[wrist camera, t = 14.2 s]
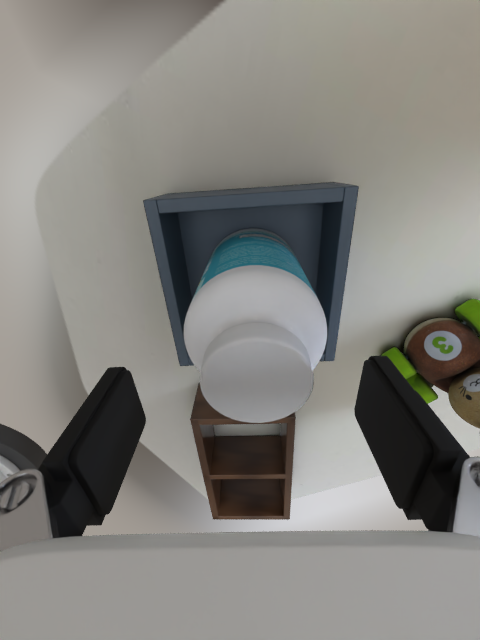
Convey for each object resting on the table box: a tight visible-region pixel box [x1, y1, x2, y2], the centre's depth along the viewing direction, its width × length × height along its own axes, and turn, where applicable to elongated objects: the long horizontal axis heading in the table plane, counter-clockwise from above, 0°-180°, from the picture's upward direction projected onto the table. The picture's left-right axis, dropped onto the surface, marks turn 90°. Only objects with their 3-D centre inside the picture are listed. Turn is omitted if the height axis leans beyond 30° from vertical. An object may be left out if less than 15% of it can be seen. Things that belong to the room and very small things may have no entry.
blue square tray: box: [143, 182, 359, 366], centre depth 21 cm, size 13×13×5 cm
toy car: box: [381, 299, 480, 428], centre depth 21 cm, size 9×9×11 cm
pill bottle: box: [184, 228, 327, 423], centre depth 17 cm, size 8×7×14 cm
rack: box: [190, 383, 296, 519], centre depth 32 cm, size 10×19×5 cm, turn 4°
